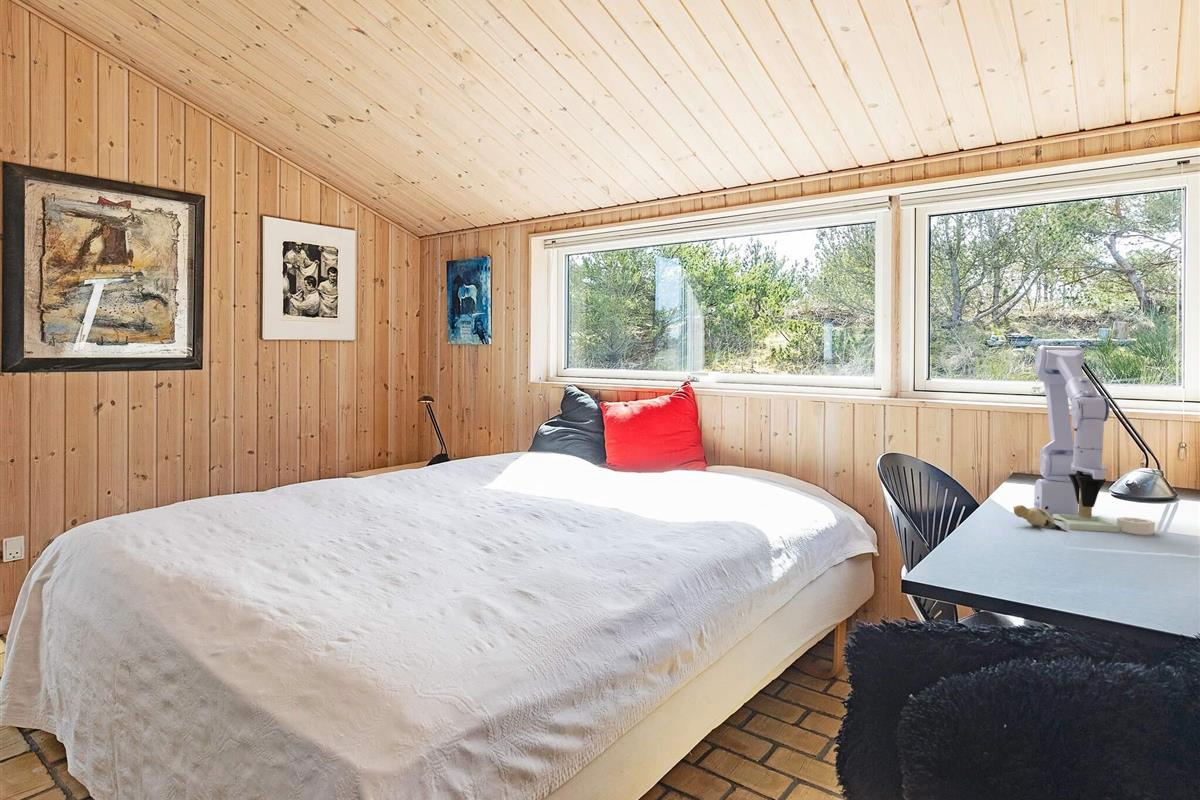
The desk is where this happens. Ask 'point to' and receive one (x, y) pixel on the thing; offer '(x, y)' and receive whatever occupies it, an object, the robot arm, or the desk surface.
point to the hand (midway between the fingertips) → (1085, 505)
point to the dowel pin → (1084, 509)
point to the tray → (1086, 523)
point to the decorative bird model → (1037, 517)
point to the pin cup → (1136, 525)
